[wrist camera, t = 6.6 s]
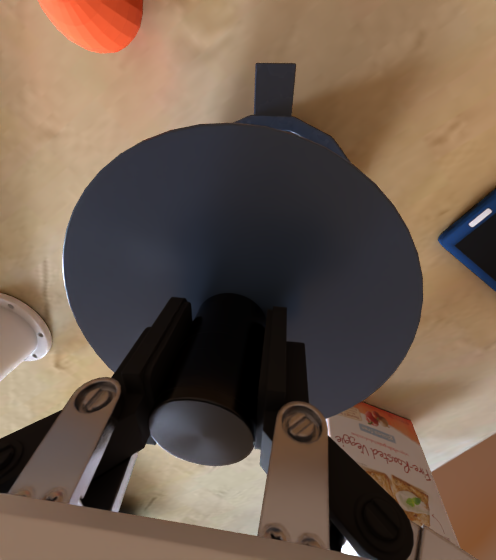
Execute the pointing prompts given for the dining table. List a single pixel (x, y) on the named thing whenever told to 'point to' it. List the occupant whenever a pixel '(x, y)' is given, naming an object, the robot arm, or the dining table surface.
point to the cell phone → (475, 239)
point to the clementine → (96, 22)
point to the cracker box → (392, 462)
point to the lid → (242, 274)
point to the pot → (282, 105)
